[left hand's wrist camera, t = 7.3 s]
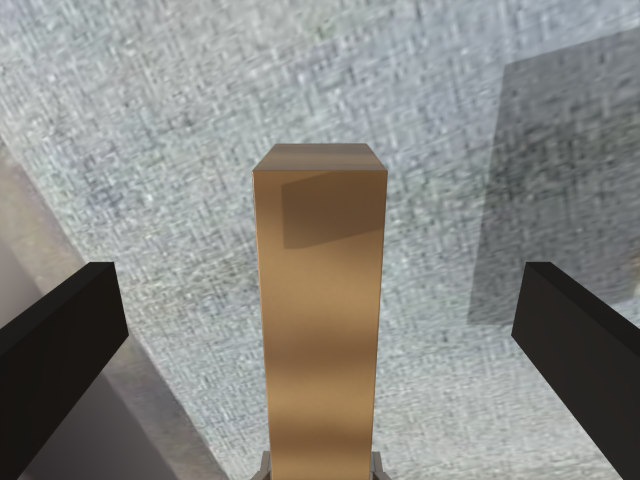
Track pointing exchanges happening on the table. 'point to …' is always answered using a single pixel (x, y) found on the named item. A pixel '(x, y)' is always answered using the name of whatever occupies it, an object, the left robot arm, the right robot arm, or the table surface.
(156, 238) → the table surface
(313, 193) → the bar
